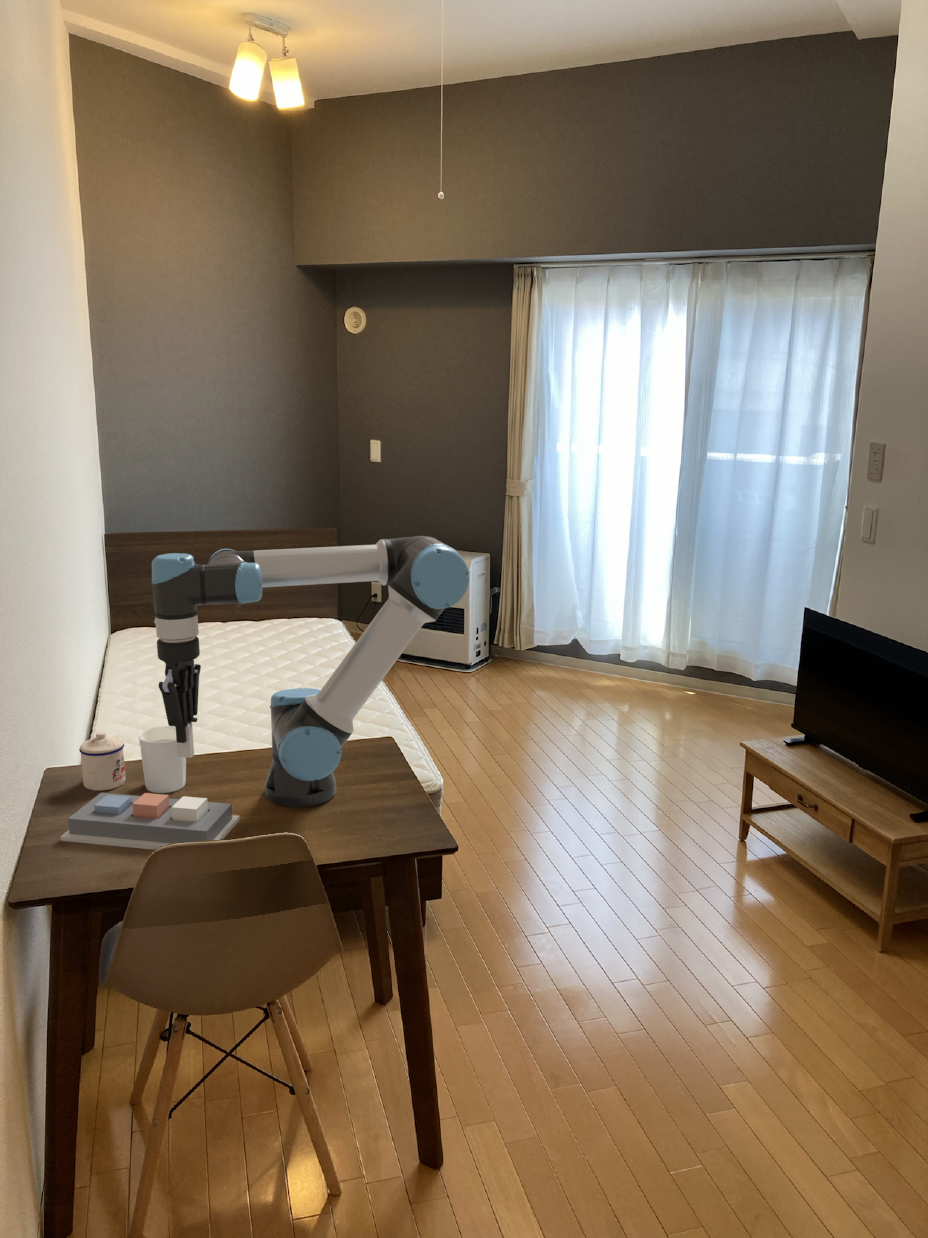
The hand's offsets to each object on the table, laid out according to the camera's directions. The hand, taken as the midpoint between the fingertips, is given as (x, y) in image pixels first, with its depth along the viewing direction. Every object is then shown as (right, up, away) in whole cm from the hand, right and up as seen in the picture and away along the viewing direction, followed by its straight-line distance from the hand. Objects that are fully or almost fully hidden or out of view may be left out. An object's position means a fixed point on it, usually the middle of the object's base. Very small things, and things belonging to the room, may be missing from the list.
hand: (185, 755), depth 178 cm
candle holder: (-12, -10, +25) cm, 30 cm away
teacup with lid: (-26, -10, +27) cm, 39 cm away
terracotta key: (-8, -12, +4) cm, 15 cm away
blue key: (-16, -12, +5) cm, 21 cm away
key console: (-8, -15, +5) cm, 18 cm away
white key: (0, -12, +3) cm, 13 cm away
